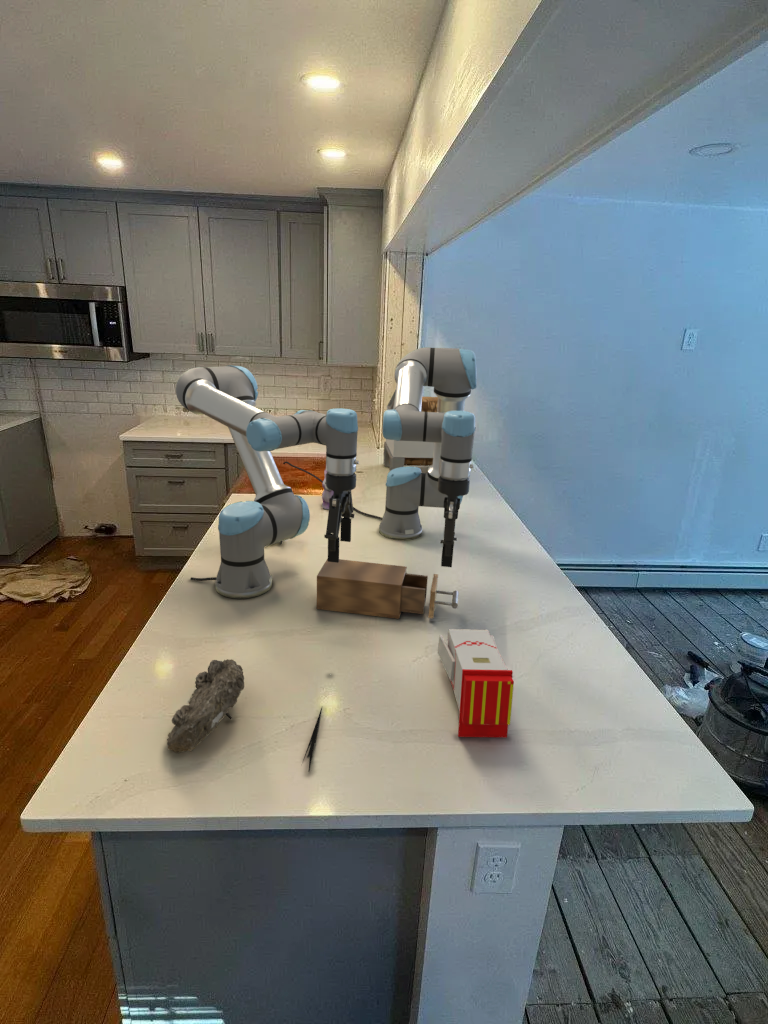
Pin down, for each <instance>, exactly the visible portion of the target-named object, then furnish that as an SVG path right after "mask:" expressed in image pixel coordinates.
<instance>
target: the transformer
mask: <svg viewBox="0 0 768 1024" xmlns="http://www.w3.org/2000/svg"><path fill="white" fill-rule="evenodd" d="M395 392H396V389H395V390H394V392H393V394H392V395H391V398H390V400H389V402H388V404H387V405H386V411H387V410H393V406H394V399H395ZM437 404H438V397H437V396H422V406H421V412H437ZM433 454H434V442H420V441H396V440H390V439H385V438H384V442H383V466H384V467H388V468H389V472H390V471H391V470H393V469H395V468H399V467H405V466H406V467H407V466H412V467H417V466H418V467H430V466H431V465H433Z"/></svg>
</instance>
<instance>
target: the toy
mask: <svg viewBox="0 0 768 1024" xmlns="http://www.w3.org/2000/svg"><path fill="white" fill-rule="evenodd" d="M446 640H447V643H446V641H445V639H444V636H443V635H442V634H439V637H438V646H437V656H438V657H439V659H440V661H441V663H442V666H443V668H444V670H445V672H446V674H447V677H448V679H449V681H450V684H451V687H452V690H453V693H454V697H455V701H456V705H457V708H458V711H459V714H458V715H459V716H458V730H457V731H458V732H457V737H458V738H508V731H509V726H510V725H511V717H512V707H513V697H514V696H513V695H514V684H515V680H514V679H513V673H514V671H513V670H512V669H508V667H507V665H506V662H505V661H504V659H503V658H502V655H501V653H500V651H499V649H498V647H497V643H496V639H495V637H494V635H493V634H491V632H490V631H489V629H467V628H466V629H465V628H463V629H461V628H460V629H459V628H448V630H447V639H446Z"/></svg>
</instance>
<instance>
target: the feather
mask: <svg viewBox="0 0 768 1024" xmlns="http://www.w3.org/2000/svg"><path fill="white" fill-rule="evenodd" d="M329 675H330V676H331V675H332V674H331V673H330V674H329ZM322 710H323V707H321V708H320V710H319V713H318V716H317V719H316V723H315V725H314V728H313V731H312V733H311V737H310V739H309V742H308V745H307V748H306V751H305V754H304V757H303V760H302V763H301V767H302V765H303V763H304V761H305V758H308V759H309V760H308V762H307V763H308V764H307V766H308V771H310V770H311V766H312V765H311V764H312V760H313V757H315V756H314V755H315V751H316V749H315V746H317V739H318V733H319V729H320V722H321V717H322V712H323V711H322ZM313 754H314V755H313ZM306 755H307V757H306Z"/></svg>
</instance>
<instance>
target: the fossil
mask: <svg viewBox="0 0 768 1024" xmlns="http://www.w3.org/2000/svg"><path fill="white" fill-rule="evenodd" d="M243 670H244V669H243V667H242V665H240V664H237V662H236V661H235V660H234V659H232V658H231V659H227V658H226V659H224V660H223V661H222V660H217V659H212V660H211V661H210V663H209V665H208V666H207V671H201V672H199V673H198V674H197V675H196V676H195V680H194V684H195V685H194V687H195V689H194V690H193V693H192V694H191V697H190V698H189V700H188V704H184V705H182V706H181V707H180V709H177V710H176V711H175V713H174V715H173V716H172V718H171V723H172V724H173V727H172V730H171V731H170V732H168V734H167V738H166V741H167V742H166V745H167V749H168V750H169V751H173V752H174V753H176V754H178V753H182V752H188V751H189V752H192V751H193V750H195V748H196V747H197V746H199V744H200V743H201V742H203V741H204V740H205V739H206V738H207V737H208V736H209V735H210V734H211V733H212V732H214V730H215V729H217V727H218V726H219V724H220V722H221V721H222V720H223V719H224V718H225V716H226V717H227V719H229V720H233V717H232V715H230V714H229V710H230V709H231V708H234V706H235V704H236V703H237V702H238V699H239V697H240V695H241V693H242V691H243V690H245V689H244V688H245V675H244V671H243Z"/></svg>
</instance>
